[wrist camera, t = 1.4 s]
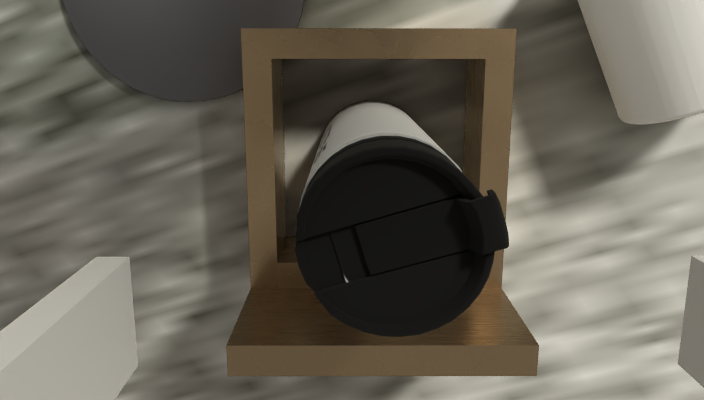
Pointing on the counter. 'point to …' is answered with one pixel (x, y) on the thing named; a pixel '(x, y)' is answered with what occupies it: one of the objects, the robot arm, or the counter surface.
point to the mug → (650, 56)
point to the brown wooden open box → (279, 251)
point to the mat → (176, 41)
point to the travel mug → (393, 226)
